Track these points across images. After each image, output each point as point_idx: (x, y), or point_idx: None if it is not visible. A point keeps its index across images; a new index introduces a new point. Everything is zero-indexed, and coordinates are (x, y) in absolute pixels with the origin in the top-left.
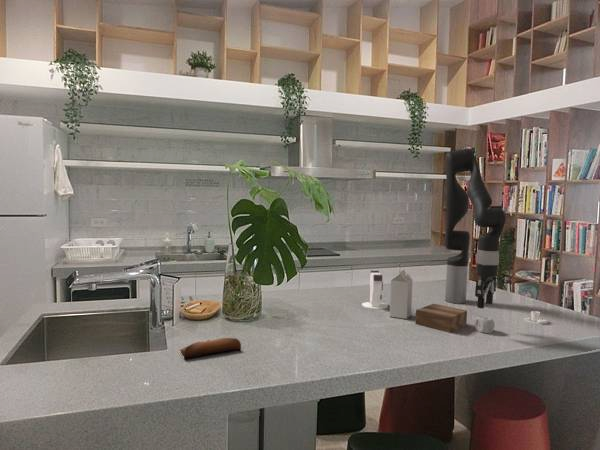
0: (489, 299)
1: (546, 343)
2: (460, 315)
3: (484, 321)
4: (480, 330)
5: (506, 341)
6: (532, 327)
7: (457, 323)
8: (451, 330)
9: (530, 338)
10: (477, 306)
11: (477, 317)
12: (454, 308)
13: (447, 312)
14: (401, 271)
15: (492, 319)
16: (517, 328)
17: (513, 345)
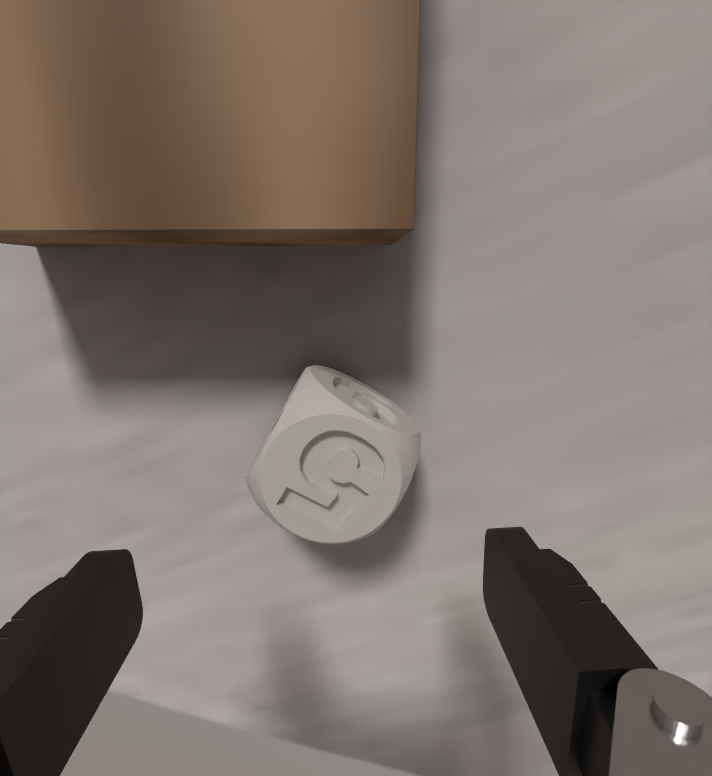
0: (515, 634)
1: (386, 759)
2: (208, 232)
3: (257, 498)
4: (270, 429)
5: (226, 615)
6: (691, 618)
7: (166, 240)
8: (56, 245)
9: (415, 682)
10: (84, 557)
11: (314, 406)
12: (387, 18)
13: (71, 54)
14: None
15: (365, 536)
16: (594, 563)
17: (184, 666)
